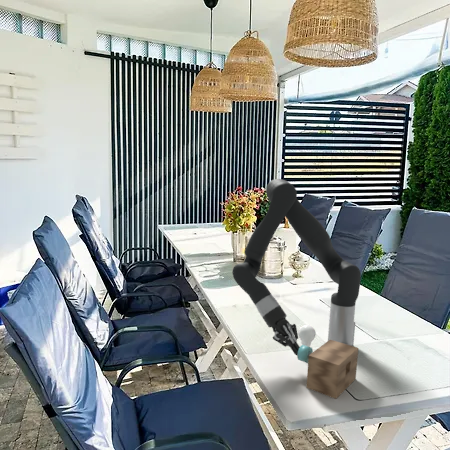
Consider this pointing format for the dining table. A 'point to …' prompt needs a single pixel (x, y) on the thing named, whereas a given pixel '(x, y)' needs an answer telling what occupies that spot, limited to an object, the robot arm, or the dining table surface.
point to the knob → (304, 353)
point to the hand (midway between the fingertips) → (299, 353)
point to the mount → (332, 368)
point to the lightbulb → (306, 334)
